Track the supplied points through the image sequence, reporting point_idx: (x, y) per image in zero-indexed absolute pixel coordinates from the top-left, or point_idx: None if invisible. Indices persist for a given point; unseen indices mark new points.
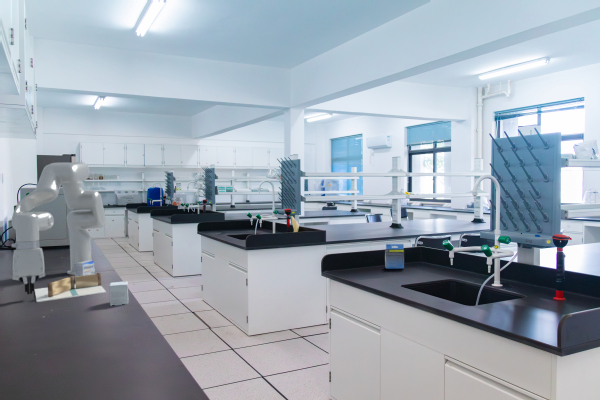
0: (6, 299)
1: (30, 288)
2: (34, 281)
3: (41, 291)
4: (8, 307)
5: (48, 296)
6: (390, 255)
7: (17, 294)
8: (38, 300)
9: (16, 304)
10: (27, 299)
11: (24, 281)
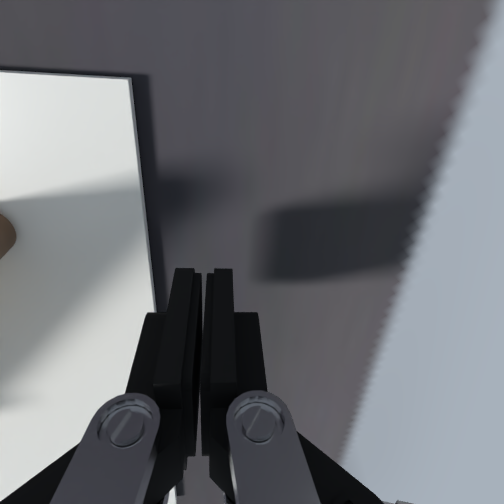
0: (365, 375)
1: (188, 321)
2: (96, 424)
3: None
4: (459, 25)
5: (5, 221)
6: None
7: None
8: (109, 115)
9: (348, 138)
10: None
11: (282, 444)
